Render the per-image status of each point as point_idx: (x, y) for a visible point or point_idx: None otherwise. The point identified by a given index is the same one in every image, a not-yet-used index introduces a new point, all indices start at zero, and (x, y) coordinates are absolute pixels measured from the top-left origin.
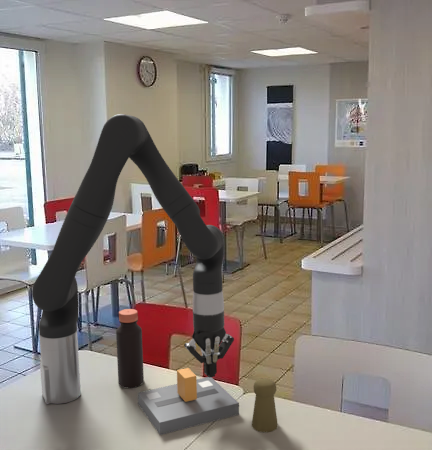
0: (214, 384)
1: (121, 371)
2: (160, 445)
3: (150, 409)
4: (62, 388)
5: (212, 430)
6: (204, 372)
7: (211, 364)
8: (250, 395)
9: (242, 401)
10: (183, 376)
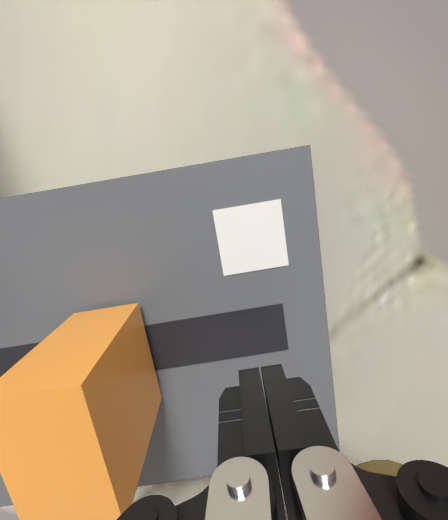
0: (297, 256)
1: None
2: (14, 512)
3: None
4: None
5: (197, 480)
6: (221, 403)
7: (280, 518)
8: (434, 290)
9: (378, 329)
10: (21, 517)
